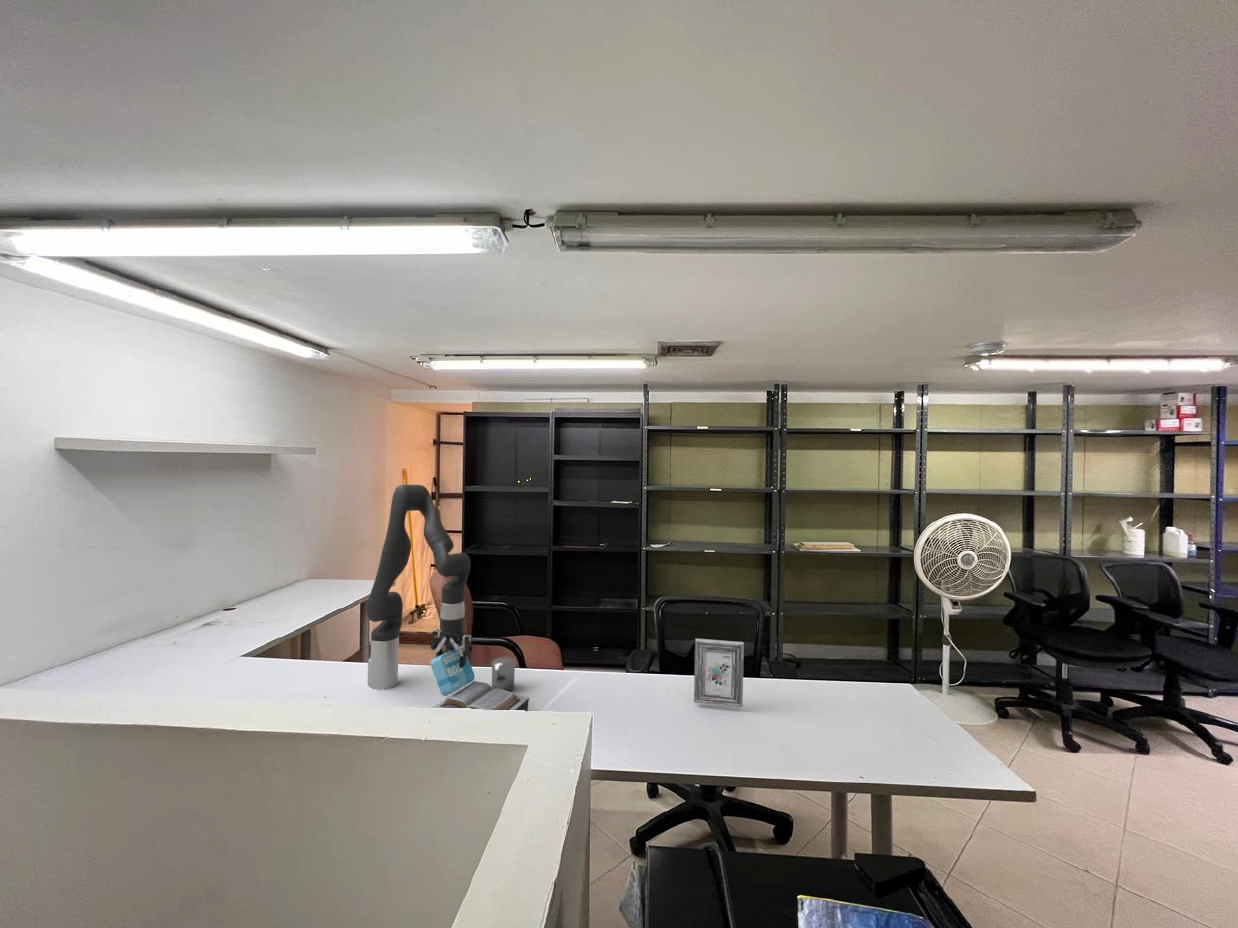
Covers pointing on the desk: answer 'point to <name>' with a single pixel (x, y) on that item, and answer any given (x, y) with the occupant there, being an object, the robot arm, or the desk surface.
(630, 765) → the desk surface
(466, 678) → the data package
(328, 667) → the desk surface
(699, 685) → the picture frame
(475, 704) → the bible
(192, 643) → the desk surface
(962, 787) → the desk surface
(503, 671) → the grey domed cylinder
